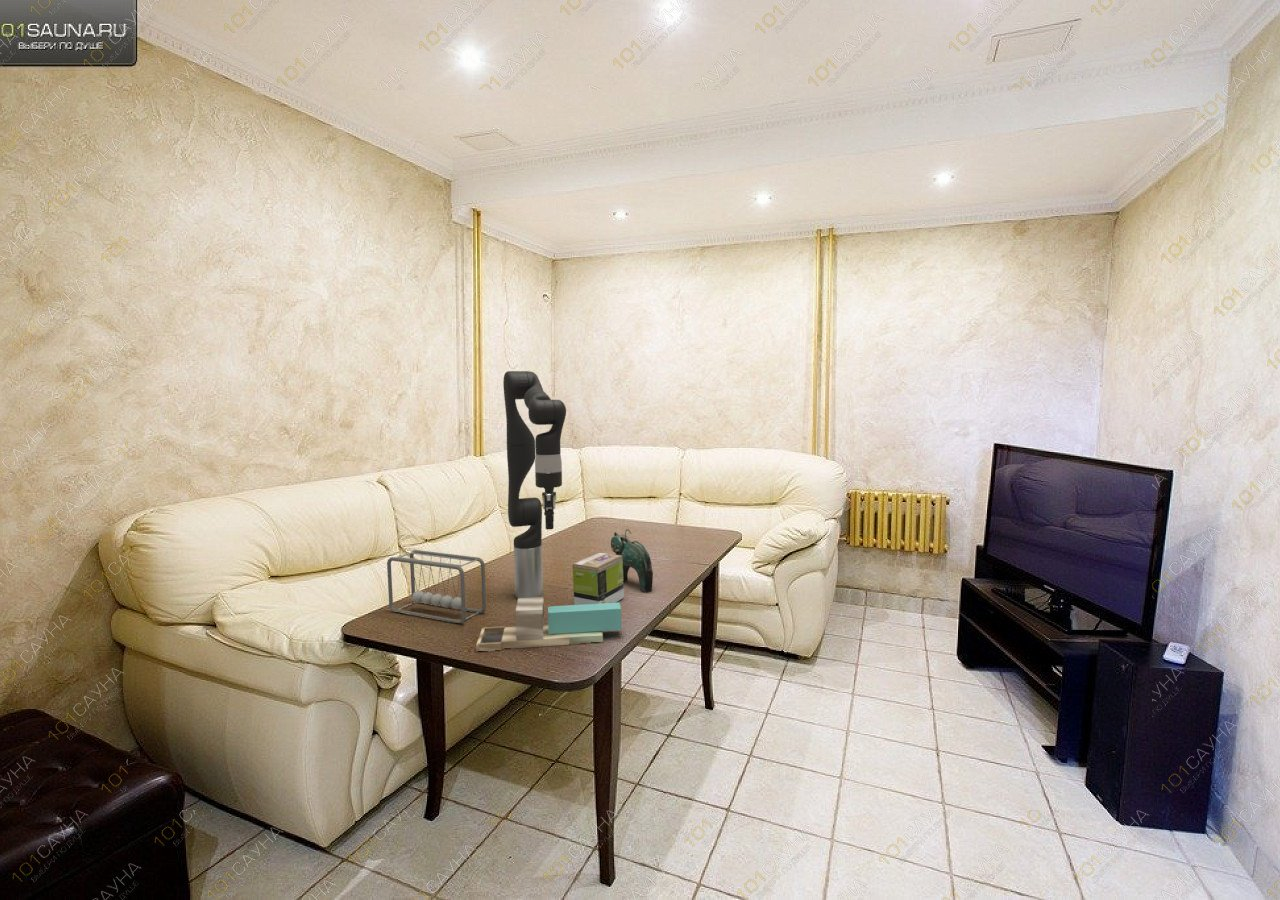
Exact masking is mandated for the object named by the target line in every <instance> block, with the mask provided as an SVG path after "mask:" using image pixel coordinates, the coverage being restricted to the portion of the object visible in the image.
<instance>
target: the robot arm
mask: <svg viewBox="0 0 1280 900" xmlns="http://www.w3.org/2000/svg"><path fill="white" fill-rule="evenodd" d="M502 380H503V381H502V383H503V397H504V408H505V417H506V419H505V421H506V458H507V459H506V460H507V476H508V490H507V493H508V494H507V498H508V500H507V518H508V522H509V524H510V526H511V527H513V528H515V527H516V528H518V527H520V528H521V527H529V528H528V529H527V530H526V531H524V532H522V533H520V534H518V535H516V536H515V537H514V538H513V560H514V561H513V566H514V595H515V596H514V597H515V598H516V599H518V598H533V597H543V595H544V588H543V587H544V582H543V581H544V580H543V574H544V573H543V551H542V550H543V547H542V546H543V544H542V542H543V540H542V539H543V538H542V536H543V531H542V529H543V527H542V525H543V514H544V517H545V519H544V520H545V521H544V522H545V529H546V530H554V522H555V519H554V518H555V517H554V516H555V511H554V510H555V509H556V500H557V492H556V491H554V490H555V488H560V487H561V486H562V485H563V467H562V465H563V463H562V462H563V460H562V454H561V453H562V451H561V450H562V449H561V438H562V432H563V427H564V424H565V420H566V416H567V408H566V404H565V403H564V402H563V401H562V400H561V399H551V397H550V396H549V395H548V394H547V393H546V392H545V391H544V388H543V386H542V384H541V383H542V382H541V381H540V379H539V376H538V375H537V374H536V373H535V372H533V371H529V370H528V371H527V370H522V371H521V370H509V371H506V372H505V373H504V376H503V379H502ZM516 400H523V401H524V405H525V406H526V408H527V409H528V410H527V411H528V413H527V414H528V419H529V421H530V422H531V424H534V425H536V426H542V425H543V426H544V425H545V426H547V425H550V426H551V428H550V429H549V430H548V431H546V432H542V433H538V434H537V435H536V436H534V434H533V432H532V431H531V429H530V428H529V426H528V425H527V424H526V422H525V421H524V419H523V418H522V416H521V414H520V412H519V410H518V406H517V403H516ZM533 465H534V471H535V472H534V474H535V478H534V479H535V481H534V482H535V486H536V487H537V488H540V489H542V488H543V489H544V492H543V491H542V492H541V493H542V494H541V500H542V502H541V500H540V499H539V498H538V497H524V498H523V497H522V498H520V493H521V488H522V485H523V483H524V480H525V479H526V477H527V475H528V474H529V472H530V471H531V469H532V467H533ZM543 510H544V512H543Z"/></svg>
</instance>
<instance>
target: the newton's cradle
mask: <svg viewBox="0 0 1280 900" xmlns="http://www.w3.org/2000/svg"><path fill="white" fill-rule="evenodd" d="M408 555H409V557H405V556H408ZM414 555H418V556H414ZM422 556H427V557H423V558H421V559H415V558H417V557H422ZM433 557H434V559H432V558H433ZM435 557H436V558H435ZM428 558H430V560H426V559H428ZM438 559H440V561H435V560H438ZM442 559H446V561H447V560H449V563H448V562H447V563H446V562H444V560H442ZM451 559H453V560H456V561H453V562H452V561H451ZM460 561H467V562H466V563H464V564H454V563H456V562H460ZM392 562H399V563H408V564H410V565H409V566H410V570H409V571H410V588H411V599H412V601H413V602H411V603H409V604H407V605H404V606H402V607H400V608H397V609H396V608H395V607H394V599H393V598H394V597H393V578H392ZM474 562H478V563H479V564H480V573H481V574H480V575H481V576H480V577H481V600H482V601H481V602H482V607H481V609H477V608H471V607H466V585H465V584H466V583H465V572H464V569H463V568H462V567H464V566H466V565H469V564H471V563H474ZM415 565H420V571H419V572H420V573H419V577H421V573H422V579H423V583H424V587H425V592H423V591H421V590H420V589H418V588H420V585H421V580H419V583H418V587H417V581H416V577H415ZM422 566H429V567H430V568H429V571H430V574H428V575H429V578H428V582H430V578H432V583H433V587H434V592H435V594H433V593H432V592H429V591H430V590H429V589H430V585H428V589H427V587H426V586H427V585H426V581H425V577H424V572H423V567H422ZM386 567H387V571H386V572H387V590H388V606H389V609H390V611H391V610H392V611H391V612H393V611H398V612H404V613H409V614H413V615H419V616H424V617H430V618H434V619H439V620H444V621H449V622H455V623H461V624H460V625H463V624H464V623H465V622H466V621H467V620H468V619H471V618H472V617H474V616H476V615H478V614H479V613H482V614H483V613H484V614H485V611H486V610H487V593H486V565H485V561H484V560H483V559H482V558H481V557H476V556H470V555H461V554H454V553H445V552H436V551H435V552H434V551H429V550H428V551H427V550H420V549H413V550H411V552H408V553H406V554H402V555H399V556H396V557H395V556H392V557H391V556H390V557H389V558H388V559H387V561H386ZM432 567H435V568H439V572H438V573H439V574H438V577H440V574H441V579H442V586H443V587H445V583H444V579H443V573H442V569H441V568H444V569H448V574H450V575H451V580H452V584H453V589H454V590H453V591H456V589H455V585H454V579H453V573H452V571H451V570H457V571H458V576H459V582H457V583H458V587H457V592H459V587H460V597H459V596H457V594H456V593H457V592H454V594H455V597H452V596H450V595H448V594H449V593H448V592H449V588H447V593H444V595H442V594H441V593H439V591H436V585H435V581H434V577H433V571H432ZM449 582H450V577H448V579H447V585H449ZM437 583H438V584H437V588H439V585H440V580H438V582H437ZM443 591H444V592H446V589H445V588H443ZM415 602H416V603H417V604H420V602H423V603H424V604H423V605H426V604H432V605H434V606H433V607H438V606H439V605H440V606H442V607H441V608H443V609H444V608H445V609H449V608H448V607H451V608H453V609H452V610H456V611H459V610H458V609H461V610H462V611H461V610H460V611H461V620H459V619H455V618H454V619H453V618H449V617H442V616H438V615H437V616H436V615H433V614H425V613H420V612H413V611H410V610H409V611H408V610H403V609H404V608H403V607H405V608H407V607H409V606H408V605H410V606H412V605H413V604H412V603H414V604H416V603H415ZM411 604H412V605H411ZM432 605H431V606H432ZM406 606H407V607H406ZM401 608H403V609H401ZM399 609H400V610H399ZM466 610H467V611H472V612H471V613H472V614H471V615H470V616H467V611H466ZM473 612H477V613H473ZM449 622H448V623H449ZM462 623H463V624H462Z"/></svg>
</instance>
